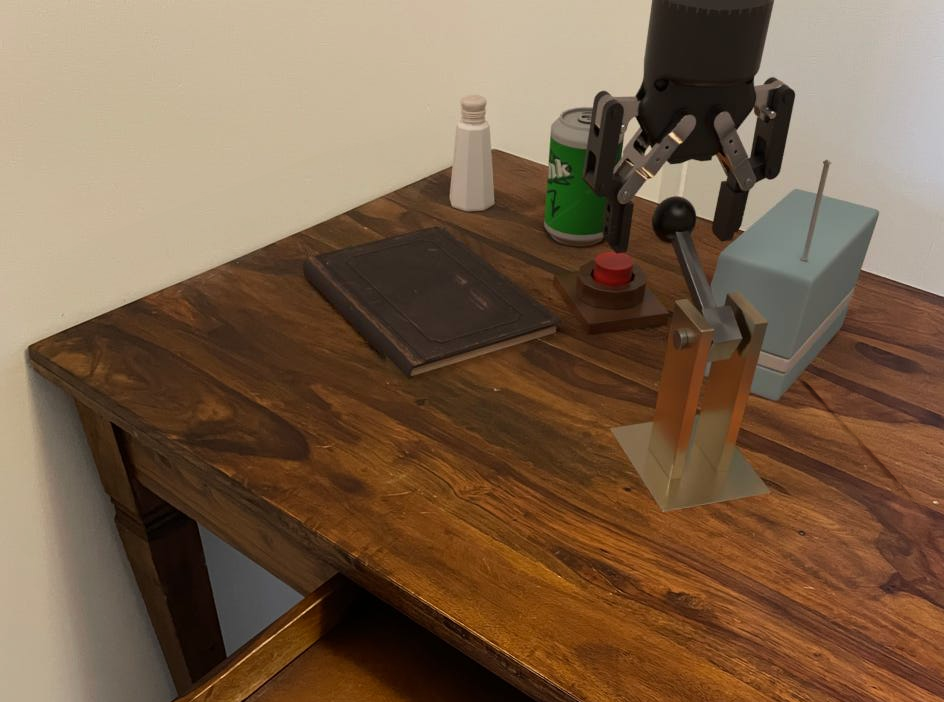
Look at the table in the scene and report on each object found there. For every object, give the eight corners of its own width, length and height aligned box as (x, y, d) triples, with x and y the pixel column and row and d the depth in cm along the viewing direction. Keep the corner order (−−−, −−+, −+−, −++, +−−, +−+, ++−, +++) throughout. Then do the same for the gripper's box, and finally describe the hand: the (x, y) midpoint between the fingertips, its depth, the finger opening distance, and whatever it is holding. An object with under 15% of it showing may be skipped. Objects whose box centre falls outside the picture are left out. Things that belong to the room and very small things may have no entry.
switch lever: (641, 220, 71) (654, 188, 68) (680, 216, 72) (695, 184, 69) (693, 367, 68) (709, 340, 65) (733, 361, 68) (751, 334, 65)
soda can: (615, 224, 106) (630, 107, 97) (606, 254, 101) (621, 134, 92) (549, 217, 107) (558, 101, 98) (537, 246, 102) (545, 127, 93)
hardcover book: (440, 245, 102) (440, 224, 100) (560, 343, 89) (562, 320, 87) (304, 280, 97) (301, 258, 95) (409, 389, 83) (408, 366, 82)
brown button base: (552, 294, 95) (555, 255, 92) (626, 285, 97) (631, 246, 94) (586, 345, 89) (591, 305, 86) (665, 334, 90) (672, 294, 87)
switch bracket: (607, 439, 79) (630, 281, 68) (707, 424, 80) (744, 267, 70) (660, 523, 71) (694, 360, 61) (768, 504, 73) (819, 342, 63)
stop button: (587, 271, 91) (589, 253, 89) (622, 267, 91) (625, 249, 90) (601, 289, 88) (603, 271, 87) (636, 284, 89) (639, 266, 88)
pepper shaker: (504, 206, 109) (508, 101, 101) (463, 216, 107) (464, 110, 99) (480, 189, 112) (482, 86, 104) (440, 198, 110) (439, 94, 102)
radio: (752, 308, 94) (807, 84, 79) (840, 335, 90) (915, 107, 76) (679, 378, 85) (727, 142, 70) (774, 412, 81) (845, 171, 67)
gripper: (631, 10, 55) (598, 277, 67) (848, -4, 58) (779, 254, 70) (586, -23, 60) (563, 231, 72) (788, -35, 63) (734, 212, 75)
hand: (670, 242), depth 71 cm, fingers open, 8 cm apart
